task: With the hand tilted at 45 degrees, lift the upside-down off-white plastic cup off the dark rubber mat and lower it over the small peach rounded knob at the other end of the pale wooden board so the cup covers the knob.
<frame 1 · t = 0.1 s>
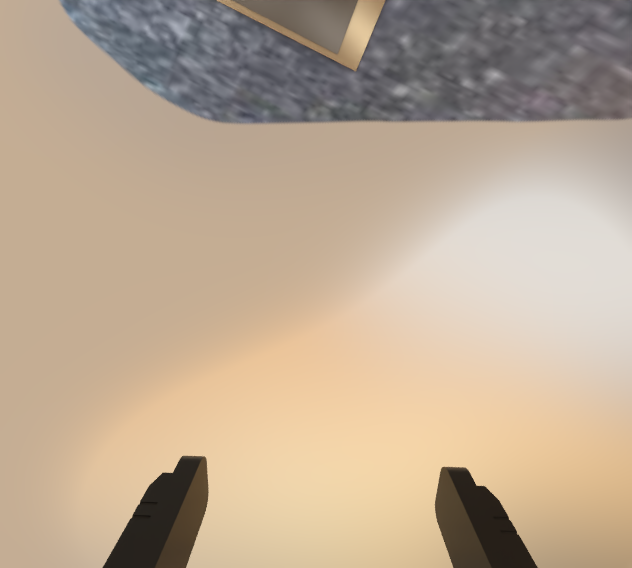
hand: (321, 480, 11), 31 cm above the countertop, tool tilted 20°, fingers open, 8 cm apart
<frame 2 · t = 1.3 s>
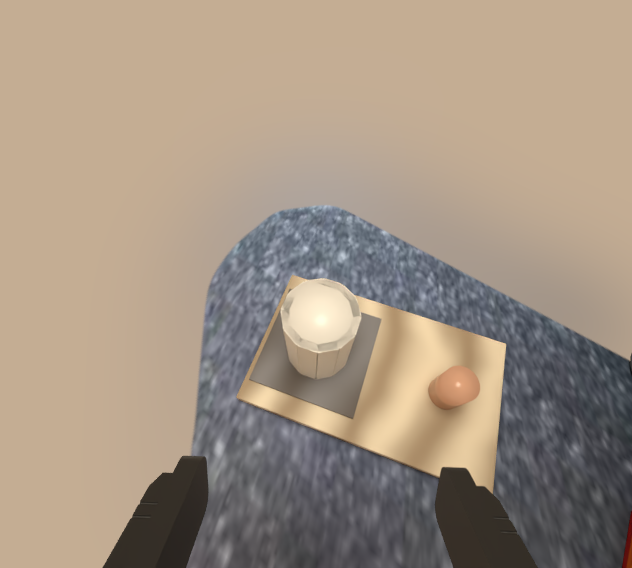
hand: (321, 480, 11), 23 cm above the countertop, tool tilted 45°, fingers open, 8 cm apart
board: (374, 372, 36), on the countertop
cover cup: (318, 347, 36), point 2 cm above the countertop, touching board
peach rounded knob: (444, 393, 34), resting on board
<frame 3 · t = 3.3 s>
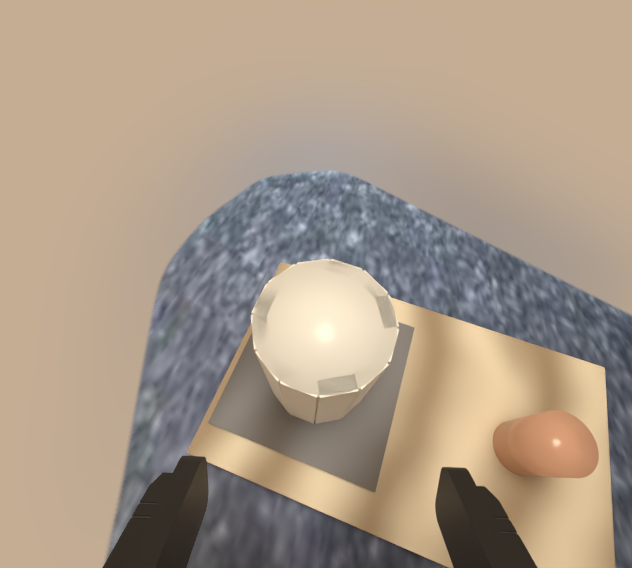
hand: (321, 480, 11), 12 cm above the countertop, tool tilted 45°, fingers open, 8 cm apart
board: (404, 410, 24), on the countertop
cover cup: (318, 371, 23), point 2 cm above the countertop, touching board
peach rounded knob: (518, 447, 21), resting on board
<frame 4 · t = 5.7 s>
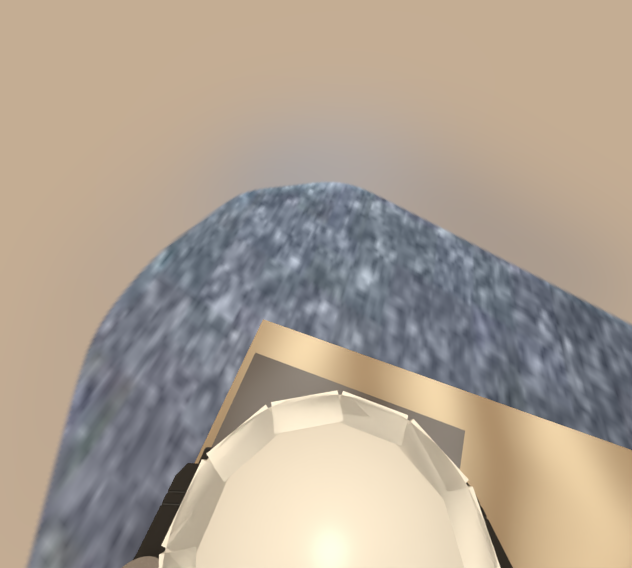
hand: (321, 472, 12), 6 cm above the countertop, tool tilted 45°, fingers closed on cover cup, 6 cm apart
cover cup: (318, 513, 14), point 2 cm above the countertop, touching board, gripper
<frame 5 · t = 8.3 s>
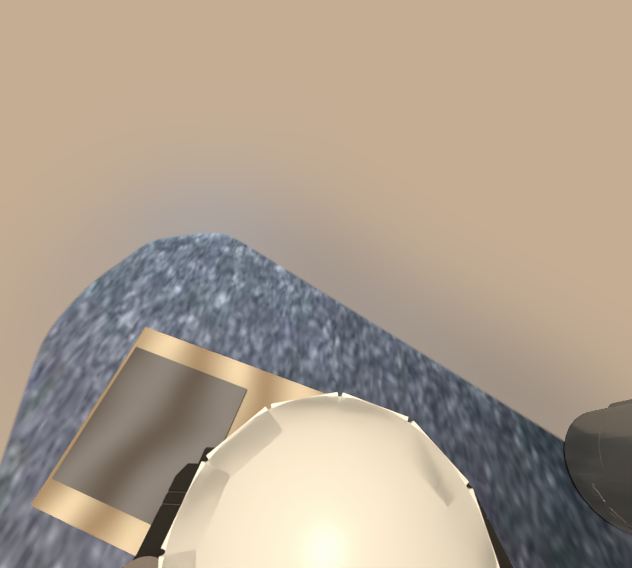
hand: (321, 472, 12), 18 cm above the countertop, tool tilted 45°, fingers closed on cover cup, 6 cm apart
board: (232, 461, 28), on the countertop
cover cup: (318, 514, 14), point 14 cm above the countertop, touching gripper
when the fingers open (7 cm above the countertop, at t = 11.1 s): cover cup drops 1 cm, resting on board.
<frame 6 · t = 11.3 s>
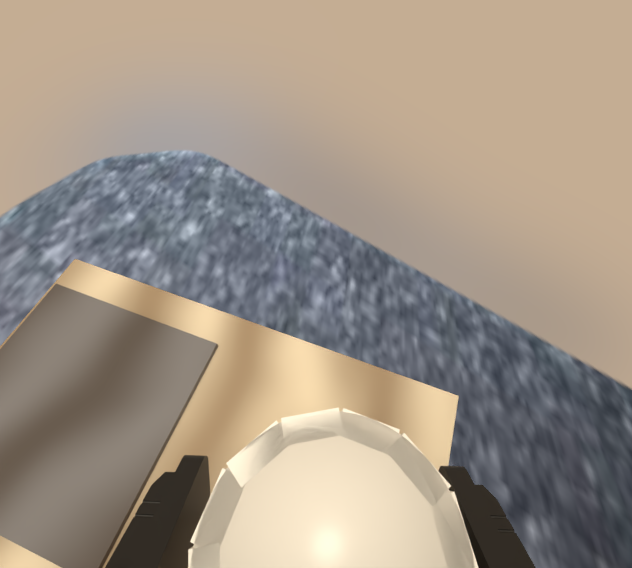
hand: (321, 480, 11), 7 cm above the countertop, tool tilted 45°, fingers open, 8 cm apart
board: (193, 454, 18), on the countertop
cover cup: (320, 514, 16), point 2 cm above the countertop, touching board
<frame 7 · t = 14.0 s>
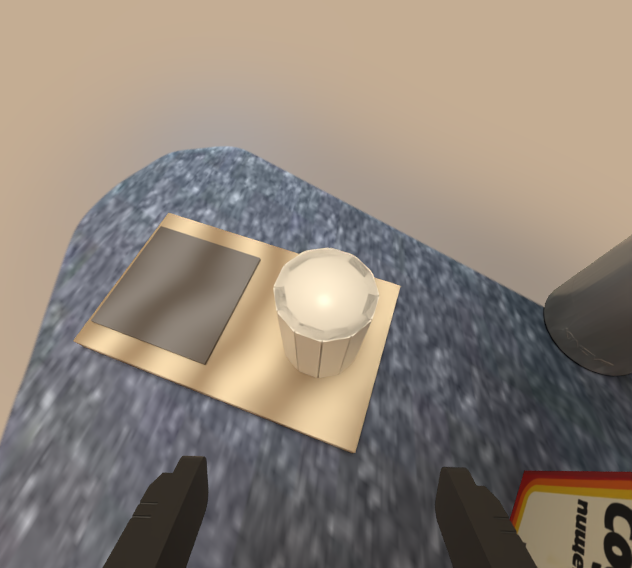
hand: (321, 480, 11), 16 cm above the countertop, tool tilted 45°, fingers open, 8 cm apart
red cream cardboard box: (549, 565, 23), on the countertop
board: (248, 318, 31), on the countertop
cover cup: (321, 339, 29), point 1 cm above the countertop, touching board
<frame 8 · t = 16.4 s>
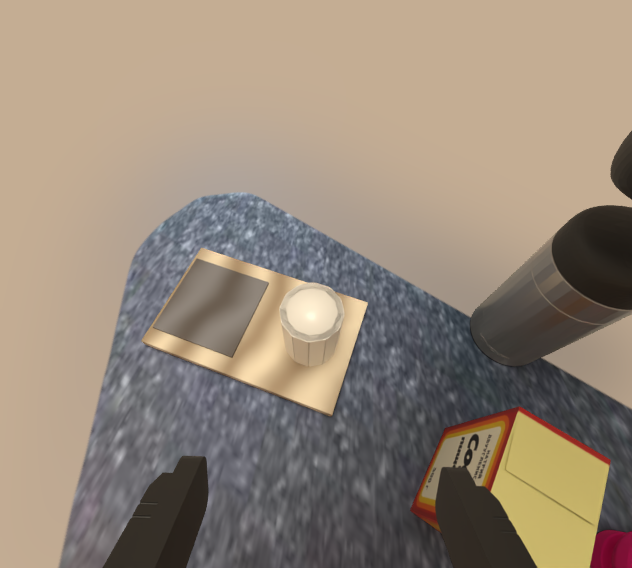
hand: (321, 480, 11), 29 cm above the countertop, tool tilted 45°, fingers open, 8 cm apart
pepper mill: (619, 567, 33), on the countertop
red cream cardboard box: (455, 485, 36), on the countertop
board: (260, 325, 45), on the countertop
cover cup: (311, 340, 42), point 1 cm above the countertop, touching board
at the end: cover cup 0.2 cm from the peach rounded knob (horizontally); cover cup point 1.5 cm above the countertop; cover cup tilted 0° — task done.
